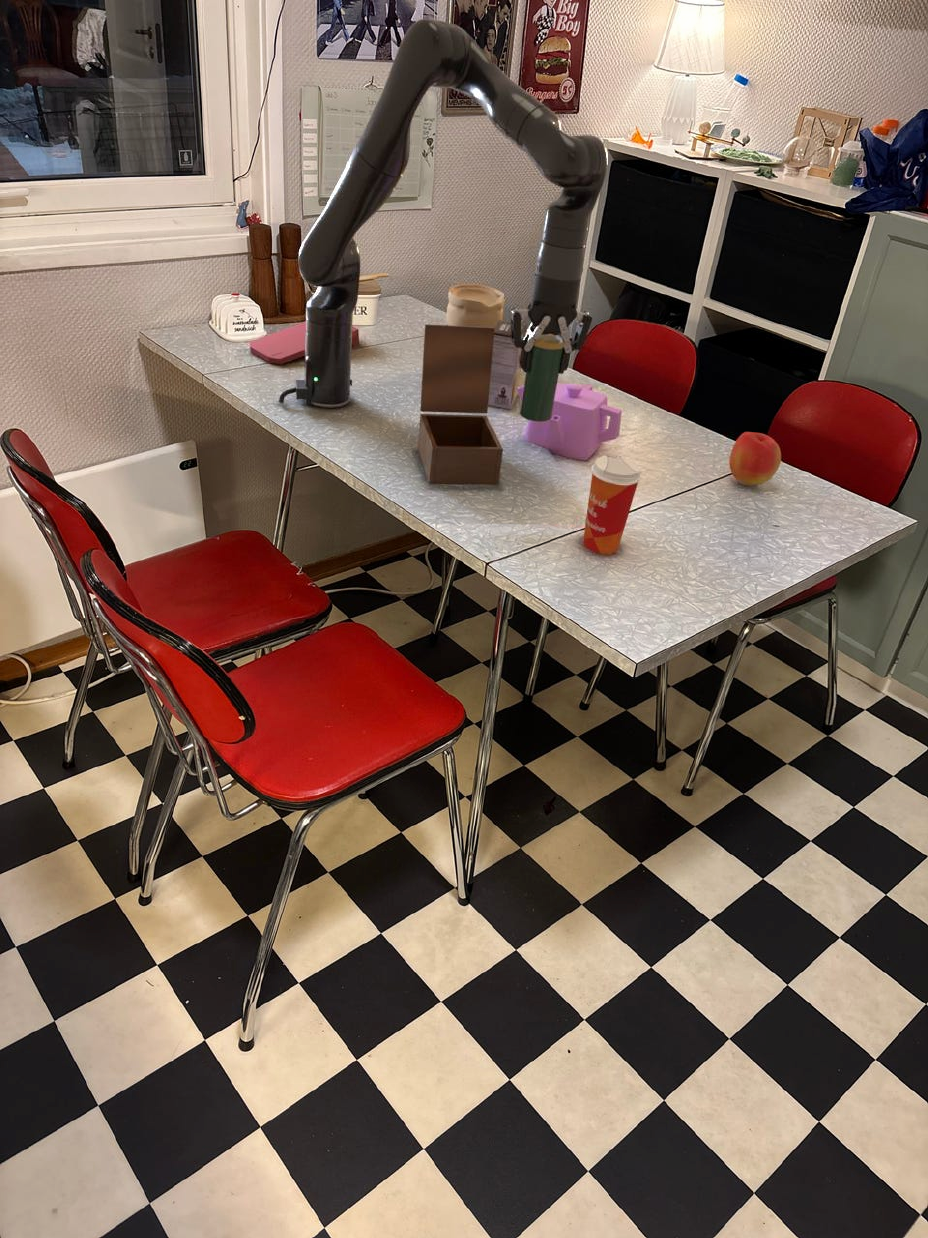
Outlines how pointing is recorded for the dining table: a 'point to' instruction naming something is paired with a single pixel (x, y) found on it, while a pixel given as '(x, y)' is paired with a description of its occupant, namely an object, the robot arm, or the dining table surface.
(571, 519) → the dining table surface
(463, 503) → the dining table surface
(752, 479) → the apple
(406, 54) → the robot arm
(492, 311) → the container
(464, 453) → the chest
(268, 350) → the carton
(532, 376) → the tea tin
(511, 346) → the coffee box
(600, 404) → the teakettle
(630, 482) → the coffee cup
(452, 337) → the chest lid
